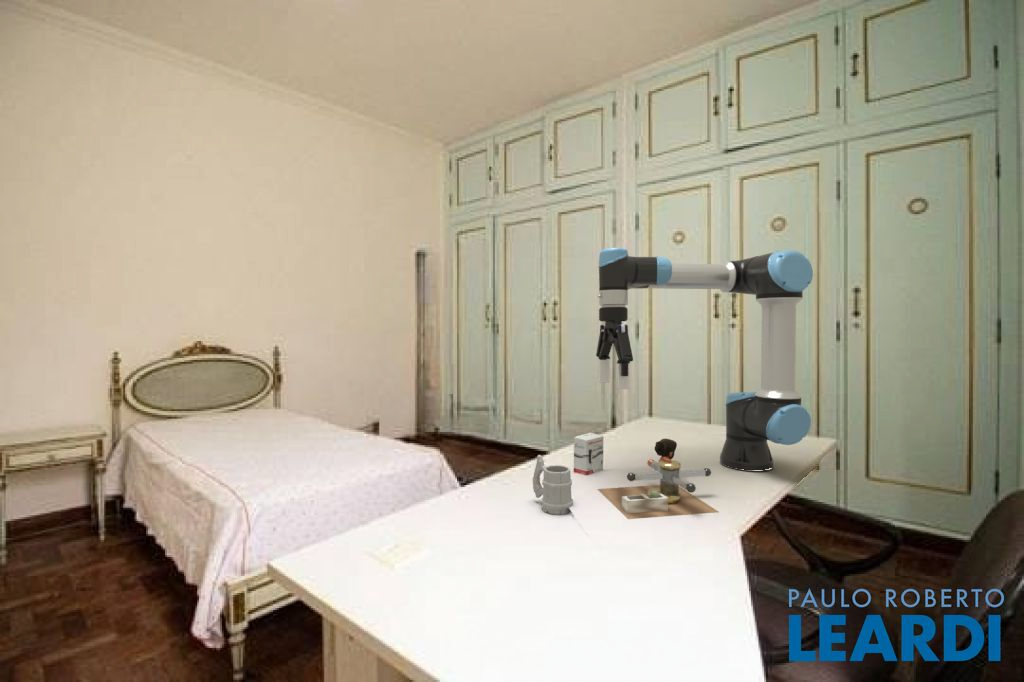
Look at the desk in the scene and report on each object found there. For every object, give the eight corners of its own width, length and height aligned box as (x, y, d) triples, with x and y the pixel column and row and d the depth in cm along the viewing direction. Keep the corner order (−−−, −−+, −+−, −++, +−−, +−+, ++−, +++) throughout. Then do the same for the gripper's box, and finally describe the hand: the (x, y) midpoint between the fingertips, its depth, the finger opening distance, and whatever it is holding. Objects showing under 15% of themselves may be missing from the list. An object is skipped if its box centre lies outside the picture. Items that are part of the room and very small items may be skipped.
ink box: (586, 480, 138) (586, 439, 138) (573, 477, 142) (572, 436, 142) (604, 474, 144) (604, 434, 144) (590, 470, 148) (590, 432, 147)
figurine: (672, 486, 133) (672, 442, 133) (652, 482, 137) (652, 439, 136) (680, 480, 138) (680, 438, 138) (660, 476, 142) (661, 435, 141)
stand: (675, 489, 130) (675, 468, 130) (719, 518, 111) (719, 493, 111) (597, 494, 127) (597, 472, 127) (628, 525, 107) (628, 499, 107)
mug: (558, 518, 112) (558, 466, 111) (522, 504, 120) (522, 456, 120) (579, 509, 117) (579, 460, 116) (544, 497, 126) (543, 451, 125)
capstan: (687, 480, 132) (687, 447, 132) (737, 511, 110) (738, 471, 110) (610, 485, 128) (610, 451, 128) (647, 518, 107) (647, 476, 106)
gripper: (585, 308, 142) (585, 380, 142) (617, 304, 117) (617, 392, 118) (609, 308, 143) (609, 380, 143) (646, 304, 118) (646, 391, 119)
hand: (613, 385), depth 131 cm, fingers open, 13 cm apart
